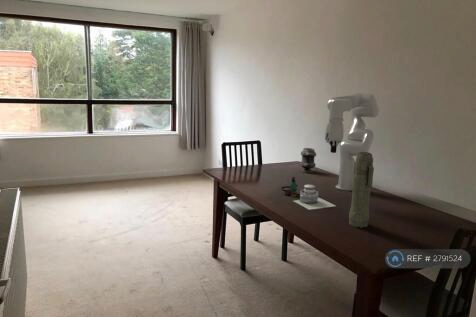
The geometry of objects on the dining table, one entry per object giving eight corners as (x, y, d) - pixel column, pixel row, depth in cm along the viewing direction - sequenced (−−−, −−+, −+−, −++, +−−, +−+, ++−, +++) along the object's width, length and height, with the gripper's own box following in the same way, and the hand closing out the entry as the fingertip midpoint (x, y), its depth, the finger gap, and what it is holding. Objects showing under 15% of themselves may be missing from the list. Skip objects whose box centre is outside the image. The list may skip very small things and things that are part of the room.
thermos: (360, 230, 164) (367, 155, 157) (342, 221, 175) (348, 151, 168) (374, 227, 168) (382, 154, 161) (356, 219, 179) (363, 150, 172)
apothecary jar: (316, 173, 272) (318, 150, 268) (300, 173, 272) (302, 149, 268) (313, 169, 284) (314, 147, 280) (298, 169, 284) (299, 147, 280)
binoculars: (281, 176, 220) (297, 176, 218) (282, 193, 222) (298, 193, 220) (280, 180, 211) (297, 179, 209) (281, 197, 213) (297, 197, 211)
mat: (318, 198, 211) (318, 197, 211) (336, 206, 197) (336, 205, 197) (292, 201, 204) (292, 200, 204) (308, 210, 189) (309, 209, 189)
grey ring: (310, 197, 210) (311, 188, 209) (321, 203, 201) (321, 193, 200) (296, 199, 206) (296, 190, 205) (306, 205, 197) (306, 195, 196)
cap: (310, 192, 206) (311, 184, 205) (316, 195, 201) (317, 187, 200) (301, 193, 204) (302, 185, 203) (307, 196, 199) (308, 188, 198)
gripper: (341, 120, 211) (339, 150, 215) (321, 120, 206) (318, 152, 209) (350, 121, 205) (347, 153, 208) (329, 122, 199) (326, 154, 202)
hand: (333, 152), depth 209 cm, fingers closed
